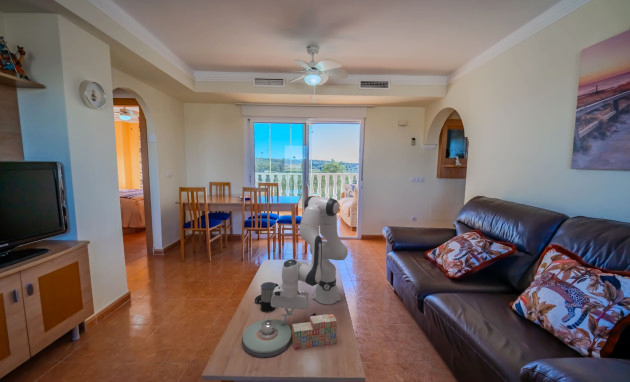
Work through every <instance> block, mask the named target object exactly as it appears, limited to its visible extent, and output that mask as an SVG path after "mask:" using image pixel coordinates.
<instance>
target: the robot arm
mask: <svg viewBox="0 0 630 382" xmlns="http://www.w3.org/2000/svg"><path fill="white" fill-rule="evenodd" d="M303 203H304V204H303V208H304V210H303V212H302V217H301V219H300V225H299V231H298V232H299V235H300V237H301V239H302V240H304V241H305V242H306V243H307V244H308V245H309V253H310V254H311V264H309V263H306V262H303V261H299V260H296V259H293V258H292V259H288V260H284V262H283V264H282V268H281V281H282V282H281V285H279V286H276V287H275V289H274V291H273V295H272V298H271V306H272V307H276V308H280V309H284V312H285V313H286V316H289V317H290V316H293V312H294V311H295V309H296V310H305V311H306V310H308V308H309V299H310V294H309V293H308V292H307V291H302V290H299V283H298V282H299V281H300V282H303V283H305V284H307V285H309V286H312V287H314V286H315V292H314V294H313V295H312V297H311V298H312V299H313V300H315V301H316V302H318V303H320V304H323V305H333V304H335V303H337V302H339V301H341V300H342V299H341V296H340V293H339V287H338V286H337V278H336V276H337V268H336V266H335V264H334V263H332V262H331V261H330V260H333V261H344V260H345V259H346V258H347V257H348V254H349V253H348V252H349V251H348V247H347V246H346V244H344V243H343V242H342V240H341V239H340V236H339V234H338V217H337V214H338V212H339V210H340V209H339V208H340V205H339V202H338V200H337V199H335V198H332V197H331V198H330V197H325V196H314V195H309V196H307V198H305V200H304V202H303ZM320 235H321V236H320ZM322 238H323V239H325V240H323V239H322ZM289 309H291V310H289Z"/></svg>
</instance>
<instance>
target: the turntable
mask: <svg viewBox="0 0 630 382" xmlns="http://www.w3.org/2000/svg"><path fill="white" fill-rule="evenodd" d="M280 317H281V319H280V320H279V319H276V318H275V319H274V318H269V319H267V318H266V319H261V320H260V319H259V320H258V321H255V322H253V323H251V324H250V325H248V326H247V327H246V328H245V330H244V332H243V334H242V337H243V343H244V345H245V347H246V348H247V349H249V350H250V351H253V352H256V353H272V352H276V351H278V350H280V349H282V348H284V347H285V346H286V345H287V344H288V343H289V341H290V339H291V332H292V328H291V327H290V326H289V325H288V323H287V314H285V313H281V316H280ZM266 320H272V321H274V323H275V328H276V329H277V335H276V337H274V338H273V339H270V340H264V339H261V338H260V337H259V330H260V329H261V328H262V323H263V322H264V321H266Z"/></svg>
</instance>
